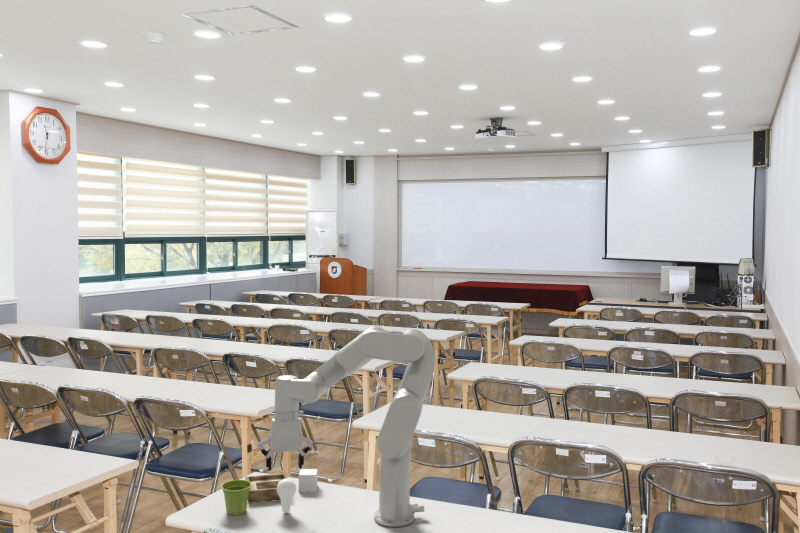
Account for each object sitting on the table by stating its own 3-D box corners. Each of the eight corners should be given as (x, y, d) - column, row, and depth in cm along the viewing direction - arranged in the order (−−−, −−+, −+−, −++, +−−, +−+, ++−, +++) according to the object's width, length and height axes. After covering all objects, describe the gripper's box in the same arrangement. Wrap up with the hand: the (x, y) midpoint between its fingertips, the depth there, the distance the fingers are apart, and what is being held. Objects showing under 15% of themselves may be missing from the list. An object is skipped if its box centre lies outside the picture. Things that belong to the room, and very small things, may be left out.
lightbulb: (294, 517, 212) (294, 482, 212) (274, 516, 212) (274, 482, 212) (297, 509, 218) (297, 475, 218) (278, 509, 218) (278, 475, 218)
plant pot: (252, 515, 213) (253, 488, 213) (222, 519, 210) (222, 491, 210) (250, 504, 222) (250, 478, 221) (220, 507, 219) (220, 481, 219)
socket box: (285, 484, 240) (285, 473, 240) (291, 499, 227) (291, 487, 227) (245, 487, 236) (245, 476, 236) (248, 503, 223) (248, 491, 222)
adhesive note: (315, 492, 234) (316, 475, 233) (298, 492, 233) (298, 475, 233) (317, 485, 240) (317, 468, 239) (300, 485, 239) (300, 468, 239)
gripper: (311, 410, 220) (310, 462, 221) (257, 413, 215) (256, 466, 216) (315, 417, 213) (313, 470, 214) (259, 419, 208) (258, 474, 209)
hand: (284, 468), depth 215 cm, fingers open, 9 cm apart
